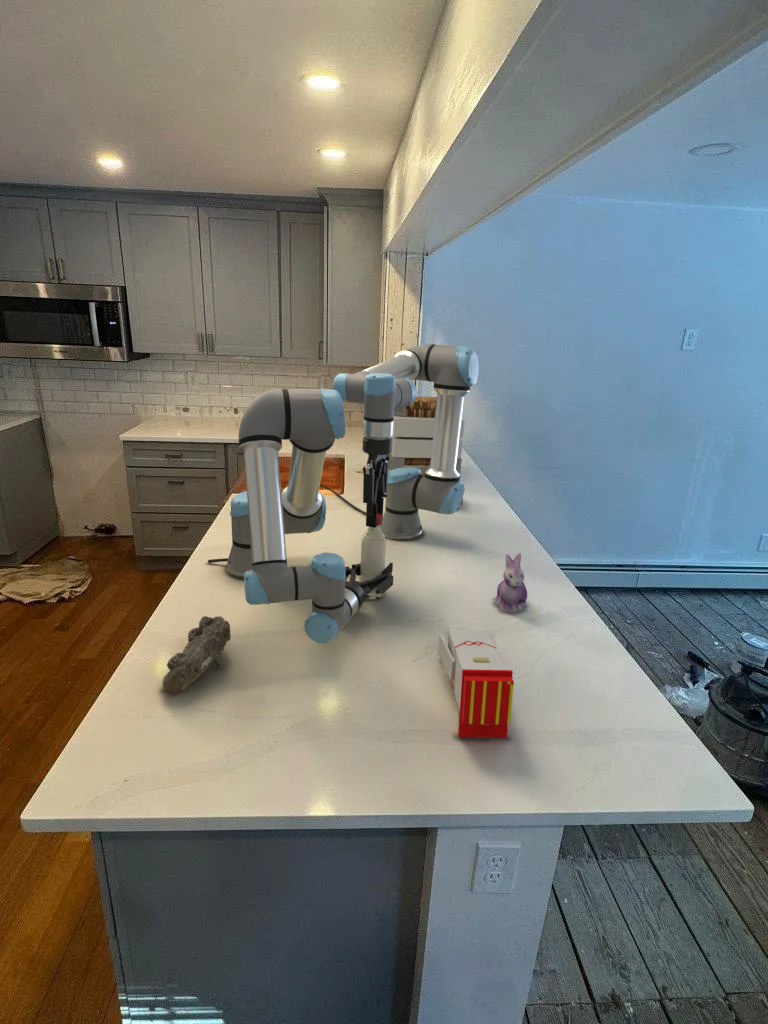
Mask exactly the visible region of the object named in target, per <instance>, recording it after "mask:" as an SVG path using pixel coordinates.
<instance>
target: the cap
mask: <svg viewBox="0 0 768 1024" xmlns="http://www.w3.org/2000/svg"><path fill="white" fill-rule="evenodd" d="M381 524H382V514H381V513H378V512H377V526H379V525H381Z"/></svg>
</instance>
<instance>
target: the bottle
mask: <svg viewBox="0 0 768 1024" xmlns="http://www.w3.org/2000/svg"><path fill="white" fill-rule="evenodd" d="M386 551H387V537H385V535H384V533H383V532H382V530H381V528H380V525H379V526H376V528H374V527H368V526H367V529H366V530H365V532H364V533H363V534H362V535H361V537H360V563H361V565H360V576H359V582H364V581H366V580H369V581H370V580H372V579H374V578H376V577H378V576H380V575H382V571H383V570H384V569H385V568H386V555H387V554H386ZM374 590H375V589H374ZM372 591H373V590H372ZM384 594H385V593H384ZM384 594H383V595H382V596H381V598H382V597H383V596H384ZM366 600H377V599H376V597H375V596H370V597H369V598H367V599H366Z"/></svg>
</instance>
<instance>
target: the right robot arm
mask: <svg viewBox="0 0 768 1024" xmlns="http://www.w3.org/2000/svg"><path fill="white" fill-rule="evenodd" d="M479 368H480V367H479V358H478V355H477V353H476V351H475V350H474V349H473V348H472V347H470V346H463V345H451V344H450V345H449V344H436V343H435V344H434V343H425V344H424V343H423V344H419V345H415V346H412V347H409V348H406V349H403V350H400V351H399V352H397V353H396V354H395V355H394V357H392V358H390V359H388V360H387V359H386V360H385V361H383V362H380V363H377V364H375V365H373V366H370V367H368V368H365V369H363V370H360V371H358V372H355V373H349V372H345V373H344V372H340V373H338V374H337V375H336V376H335V377H334V379H333V382H332V390H336V391H338V392H339V394H340V396H341V399H342V402H346V403H348V404H349V403H352V404H359V405H360V404H361V405H363V421H362V422H361V425H362V426H363V428H362V429H363V431H362V435H363V436H364V437H362V452H363V453H365V454H367V455H368V457H367V461H366V466H365V465H364V466H363V467H362V474H363V480H362V482H363V484H362V486H363V489H362V494H363V495H362V504H366V507H365V510H366V511H364V510H362V509H360V508H359V507H357V506H356V505H354V504H353V503H351V502H349V501H348V500H347V499H345V498H344V497H343V496H342V495H341V494H339V493H337V492H336V491H335V490H333V489H332V488H329V487H328V486H326V485H324V484H321V483H320V486H319V487H321V488H324V489H326V490H328V491H330V492H332V493H333V494H335V495H336V496H337V497H339V498H340V499H341V500H342V501H344V502H345V503H346V504H347V505H349V506H350V507H351V508H353V509H355V510H356V511H358V512H360V513H362V514H363V515H365V527H367V528H368V527H374V528H376V526H377V512H378V513H381V514H382V524H381V525H380V528H381V530H382V532H383V533H384V535H385V538H386V539H389V540H395V541H410V540H415V539H418V538H420V537H421V536H422V535H423V525H422V524H421V518H420V515H419V510H421V511H427V512H432V513H437V514H439V515H442V514H443V515H453V514H454V513H456V512H457V510H458V509H459V508H460V506H461V505H460V503H461V501H462V498H463V499H464V494H465V489H466V487H465V483H464V482H463V481H462V480H460V481H459V478H460V479H461V474H459V473H458V472H457V471H456V464H457V455H458V447H459V438H460V429H461V421H462V419H463V410H464V403H465V397H466V396H467V395H468V394H469V393H470V392H471V387H474V386H475V385H476V384H477V382H478V378H479V372H480V371H479ZM414 381H423V382H431V383H433V390H434V391H435V392H436V397H437V404H436V414H435V424H434V433H433V443H432V453H431V463H430V466H429V467H428V468H427V469H426V470H424V474H422V470H421V468H419V467H415V466H411V467H410V466H406V467H405V466H404V468H397V469H393V470H391V471H390V470H389V468H390V467H389V460H390V457H387V456H386V454H390V453H391V452H392V442H393V439H392V438H391V437H392V436H393V424H394V410H395V409H398V408H404V407H406V406H408V405H410V404H412V403H413V402H414V400H415V399H416V397H417V395H418V389H417V386H416V384H415V382H414ZM460 439H461V438H460ZM384 500H385V504H384ZM384 505H385V507H384ZM458 507H459V508H458ZM384 508H385V509H384Z"/></svg>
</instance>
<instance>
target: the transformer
mask: <svg viewBox="0 0 768 1024" xmlns="http://www.w3.org/2000/svg"><path fill="white" fill-rule="evenodd" d="M436 404H437V396H416V399H415V400H414V402H413V403H412V404H410V405H408V406H406V407H404V408H398V409H395V410H394V424H393V436H392V437H391V438H392V439H393V442H392V452H391V453H390V454H386V456H387V457H390V460H389V467H388V468H389V472H390V471H391V470H393V469H397V468H404V467H405V466H406V467H410V466H411V467H417V466H418V467H430V463H431V453H432V443H433V433H434V424H435V414H436ZM464 429H465V419H464V418H462V421H461V429H460V438H459V447H458V455H457V464H456V471H457V472H458V473H459V474H460V475H461V472H462V461H463V460H462V453H463V442H464V441H463V440H462V439H463V438H464V431H465V430H464ZM459 481H461V477H460V478H459Z"/></svg>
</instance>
